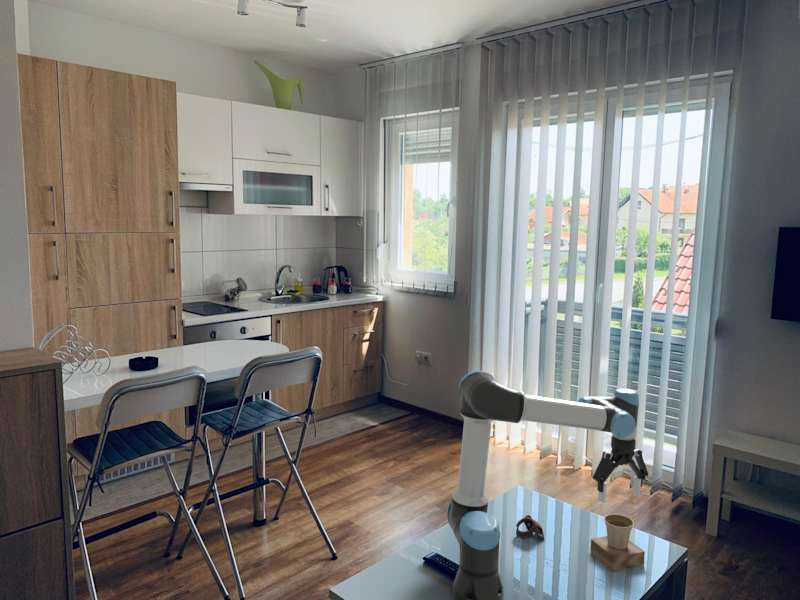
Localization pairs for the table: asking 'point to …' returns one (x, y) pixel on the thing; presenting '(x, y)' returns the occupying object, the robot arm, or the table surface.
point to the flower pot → (618, 530)
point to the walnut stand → (617, 555)
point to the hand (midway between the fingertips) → (619, 498)
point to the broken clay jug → (529, 528)
